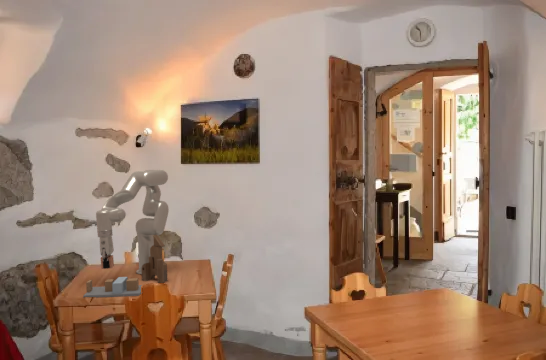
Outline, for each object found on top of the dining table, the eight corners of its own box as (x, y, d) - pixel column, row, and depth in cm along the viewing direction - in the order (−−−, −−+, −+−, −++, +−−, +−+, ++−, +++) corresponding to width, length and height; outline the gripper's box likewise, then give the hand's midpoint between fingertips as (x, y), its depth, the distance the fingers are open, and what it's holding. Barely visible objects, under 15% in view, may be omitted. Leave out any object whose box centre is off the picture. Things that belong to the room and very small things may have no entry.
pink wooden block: (103, 266, 282) (102, 255, 282) (114, 266, 282) (113, 255, 282) (101, 268, 278) (100, 257, 277) (112, 268, 278) (111, 257, 277)
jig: (92, 289, 270) (92, 277, 270) (145, 287, 272) (145, 275, 272) (83, 298, 254) (82, 285, 254) (139, 295, 256) (139, 283, 256)
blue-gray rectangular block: (119, 286, 270) (118, 277, 269) (127, 286, 270) (127, 276, 270) (112, 293, 257) (112, 283, 256) (122, 293, 257) (121, 283, 257)
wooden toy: (141, 280, 287) (139, 235, 286) (150, 277, 292) (148, 233, 291) (160, 284, 278) (159, 237, 277) (170, 281, 284) (168, 235, 282)
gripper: (108, 236, 270) (111, 270, 272) (115, 229, 287) (118, 262, 289) (93, 237, 270) (96, 271, 271) (101, 230, 286) (104, 263, 288)
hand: (107, 266), depth 280 cm, fingers closed on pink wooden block, 4 cm apart
